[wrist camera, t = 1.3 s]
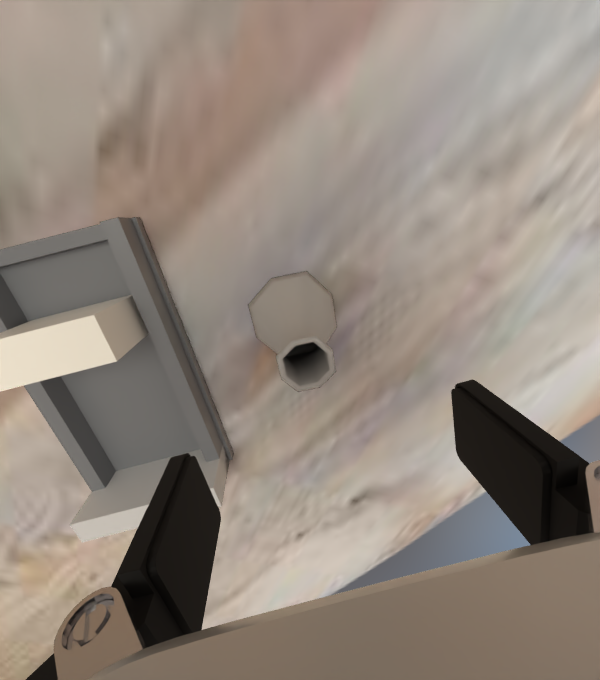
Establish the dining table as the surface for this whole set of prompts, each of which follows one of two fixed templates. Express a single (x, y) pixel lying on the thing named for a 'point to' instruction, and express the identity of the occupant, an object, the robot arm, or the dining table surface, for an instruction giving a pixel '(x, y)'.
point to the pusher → (69, 342)
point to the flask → (297, 328)
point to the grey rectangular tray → (116, 373)
